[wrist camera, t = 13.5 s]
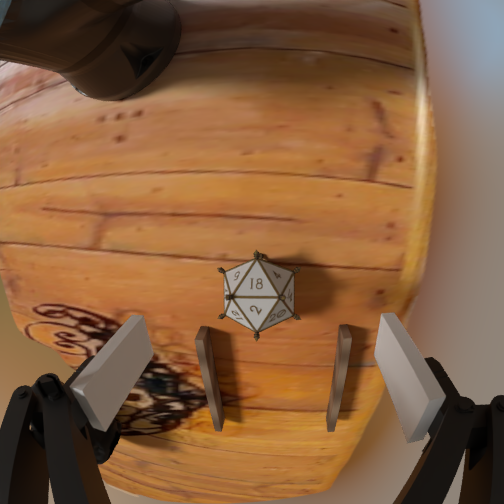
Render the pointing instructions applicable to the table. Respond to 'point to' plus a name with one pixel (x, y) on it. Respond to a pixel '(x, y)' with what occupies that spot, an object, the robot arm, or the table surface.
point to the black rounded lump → (100, 437)
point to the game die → (259, 294)
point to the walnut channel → (213, 388)
